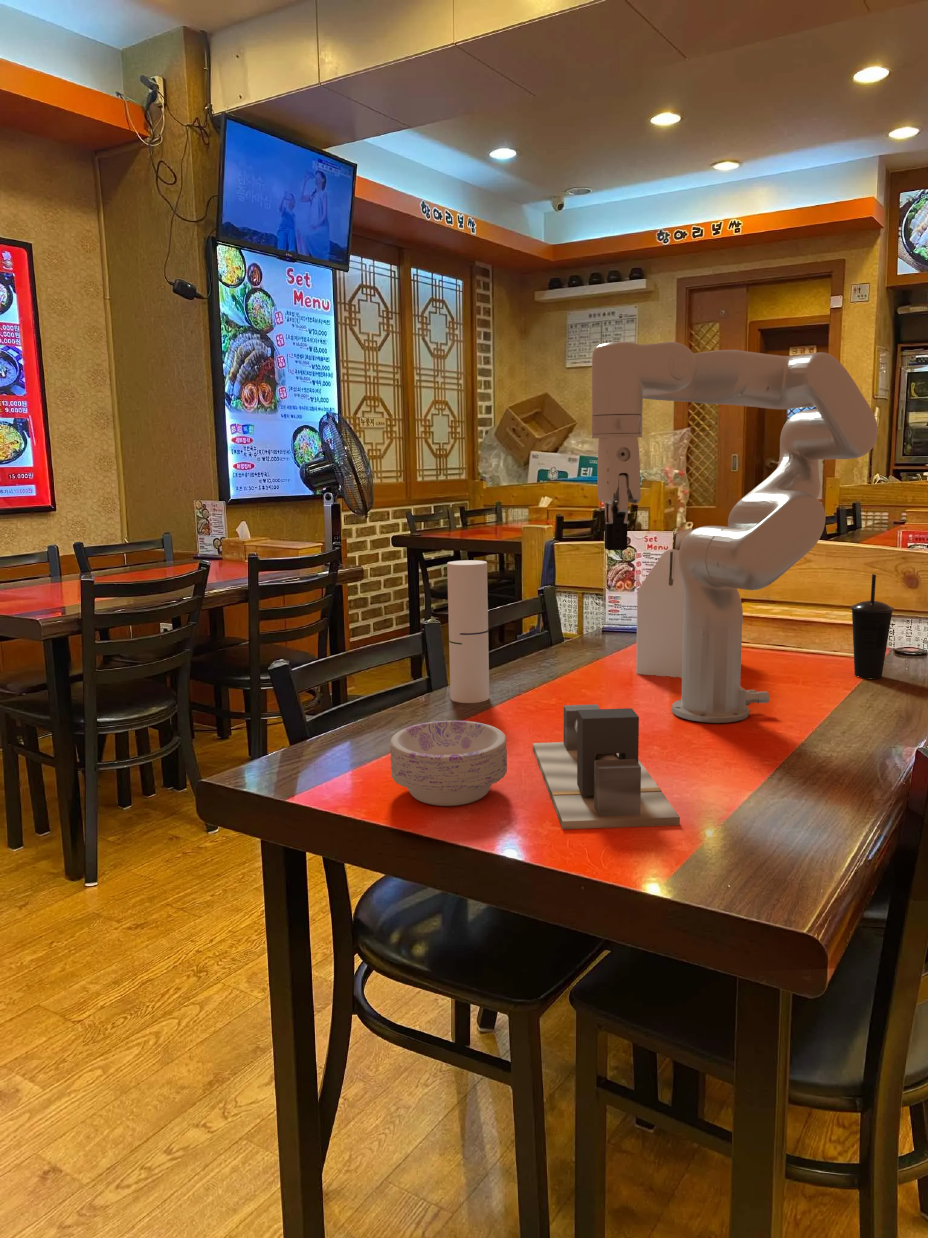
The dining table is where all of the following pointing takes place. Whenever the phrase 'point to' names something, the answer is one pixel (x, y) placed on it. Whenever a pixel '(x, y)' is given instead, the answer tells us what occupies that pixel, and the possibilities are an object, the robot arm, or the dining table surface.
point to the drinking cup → (870, 635)
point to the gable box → (661, 616)
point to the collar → (604, 740)
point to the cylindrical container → (468, 631)
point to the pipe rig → (600, 786)
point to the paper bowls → (448, 761)
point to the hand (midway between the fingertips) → (615, 549)
